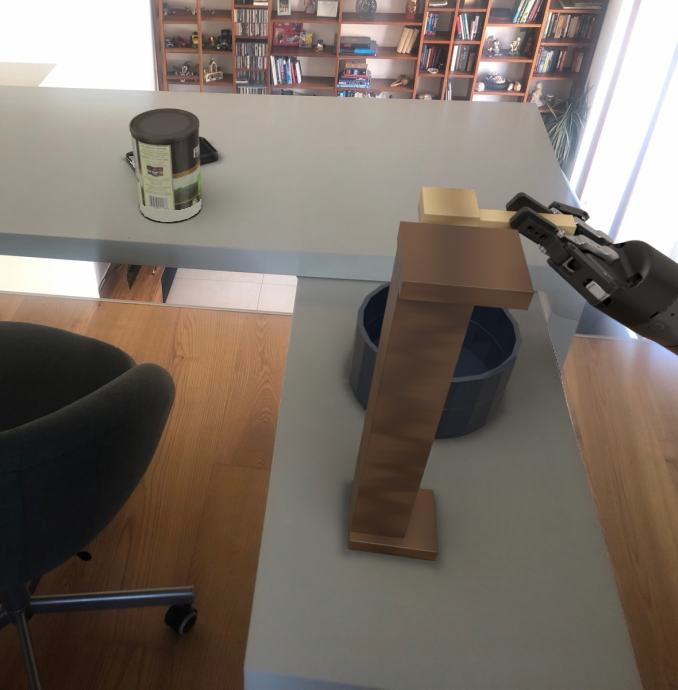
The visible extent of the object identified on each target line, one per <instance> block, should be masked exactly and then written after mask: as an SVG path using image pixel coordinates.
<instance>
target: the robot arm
mask: <svg viewBox="0 0 678 690" xmlns="http://www.w3.org/2000/svg"><path fill="white" fill-rule="evenodd" d="M505 211H515V212H517V213H516V214H514V215H513V216H512V217H511V218H510V220H509V223H510V227H511V228H512V229H514V230H518V232H519V235H522V236H523V237H525V238H527V239H528V240H530V241H531V242H532V243H535V244H536V245H537V246H538V247H537V248H538V250H539V251H540V253H542V254H544V255H546V256H547V257H549V258H547V259H546V264H547V265H548V266H549V267H550V268H551V269H552V270H554V271H555V273H557V274H558V275H559V276H560V277H561V278H562V279H563V280H564V281H565V282H566V283H568V285H569V286H570V287H572V289H574V290H575V292H577V294H579V295H580V296H581V297H583V298H584V300H586V302H587V303H588V305H590V306H591V307H593V308H594V309H596V310H598V311H600V312H601V313H603V314H604V315H606V316H607V317H609V318H610V319H612V320H614V321H615V322H617V323H619V324H620V325H622V326H624V327H625V328H627V329H628V330H630V331H631V332H633V333H635V334H636V335H638V336H640V337H642V338H644V339H645V340H646V339H647V340H649V341H651V342H654V343H656V344H657V345H658V346H661V347H662V348H664V349H666V350H667V351H668V352H670V353H672V354H673V355H675V356H677V357H678V262H676V261H675V260H674V259H672V258H670V257H669V256H667V255H666V254H664V253H663V252H661V251H660V250H659V249H657V248H655V247H654V246H652V245H651V244H649V243H648V242H646V241H644V240H639V239H630V240H625V241H623V242H617V243H614V240H613V239H612V238H611V237H610V236H609V235H608V234H607V233H605V232H604V231H603V230H599V229H595V228H593V226H590V225H589V224H588V223H587V221H588V220H589V219H590V218H591V217H590V214H589V213H588V212H587V211H586V210H583V209H582V208H578V207H575V206H573V205H572V206H571V205H569V204H565V203H562V202H559V201H555V200H553V201H552V202H551V203H550V204H549V205H548V206H546V205H544V204H542V203H541V202H539V201H537V200H536V199H535V198H533V197H532V196H530V195H529V194H527V193H526V192H523V191H520V192H518V193H516V194H515V195H514V196H513V197H511V199H510V200H509V201H507V203H506V204H505ZM538 213H545V214H562V215H572V216H573V218H574V221H575V224H576V226H577V227H576V230H575V232H574V235H572V234H570V233H568V232H567V231H565V230H564V229H562V228H558V229H557V228H556V225H555V224H554V223H552V222H551V221H549V220H548V219H546V218H544V217H543V216H541V215H540V214H538ZM556 229H557V230H556ZM555 230H556V231H555Z"/></svg>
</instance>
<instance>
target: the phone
mask: <svg viewBox="0 0 678 690" xmlns="http://www.w3.org/2000/svg"><path fill="white" fill-rule="evenodd" d="M199 149H200V165H202V164H207V163H211V162H215V161H217V160H218V159H219V151H218V150H217V149H216V148H215V147H214V146H213V145H212V144H211V143H210V141H208V139H207V138H205V137H204V136H199ZM129 156H134V155H133V150H132V151H131V150H130V151H128V152H127V153H126V154H125V158H126V159H125V160H126V162H127V164H128V166H130V168H131V169H132V170H133V172H134V173H135V174H136V172H135V168H134V167H133V165H132V164H131V163H130V161H131V162H132V160H131V159H130V158H129ZM127 158H128V159H129V160H130V161H129V160H128V159H127Z"/></svg>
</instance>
